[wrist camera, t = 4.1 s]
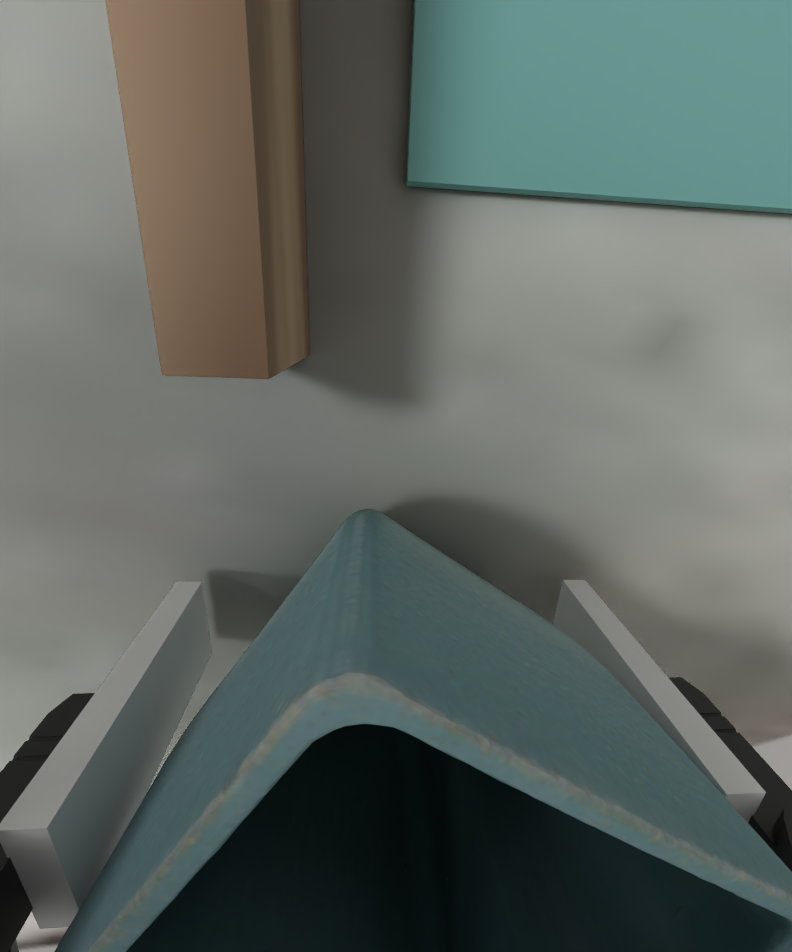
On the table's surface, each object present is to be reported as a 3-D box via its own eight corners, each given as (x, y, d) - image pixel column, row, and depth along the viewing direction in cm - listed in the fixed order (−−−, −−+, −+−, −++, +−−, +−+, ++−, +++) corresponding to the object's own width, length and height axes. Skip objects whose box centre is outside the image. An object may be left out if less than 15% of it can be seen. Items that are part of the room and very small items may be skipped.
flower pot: (356, 425, 12) (328, 673, 3) (568, 572, 14) (862, 939, 6) (207, 631, 14) (-32, 1092, 6) (412, 730, 16) (461, 1166, 8)
